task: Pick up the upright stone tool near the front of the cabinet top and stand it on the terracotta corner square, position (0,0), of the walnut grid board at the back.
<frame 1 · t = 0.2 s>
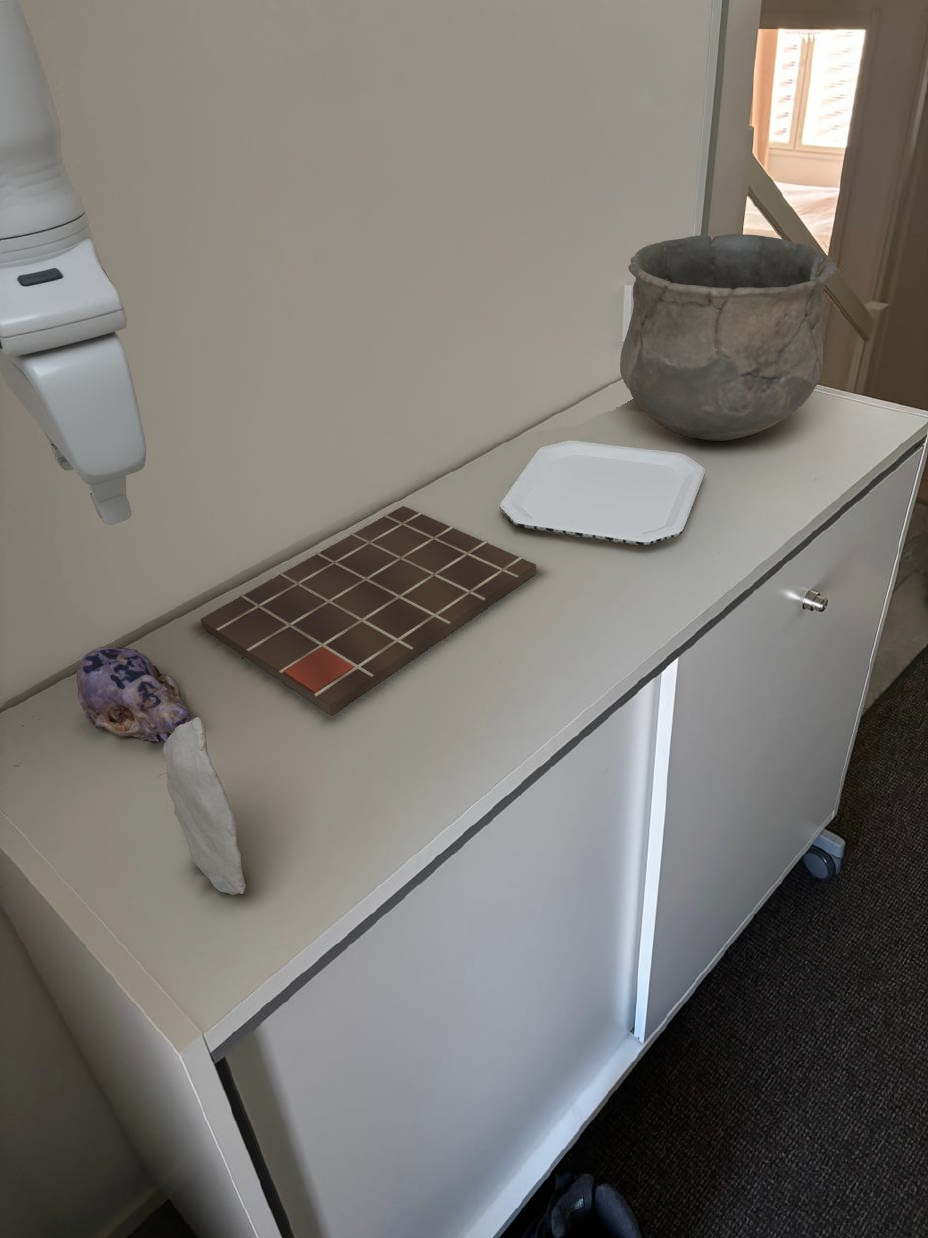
hand: (93, 490, 61), 26 cm above the cabinet top, tool pointing down, fingers open, 8 cm apart
stone tool: (226, 879, 67), on the cabinet top
pot: (710, 426, 121), on the cabinet top
skull: (144, 718, 82), on the cabinet top
plate: (603, 503, 107), on the cabinet top
board: (373, 600, 94), on the cabinet top
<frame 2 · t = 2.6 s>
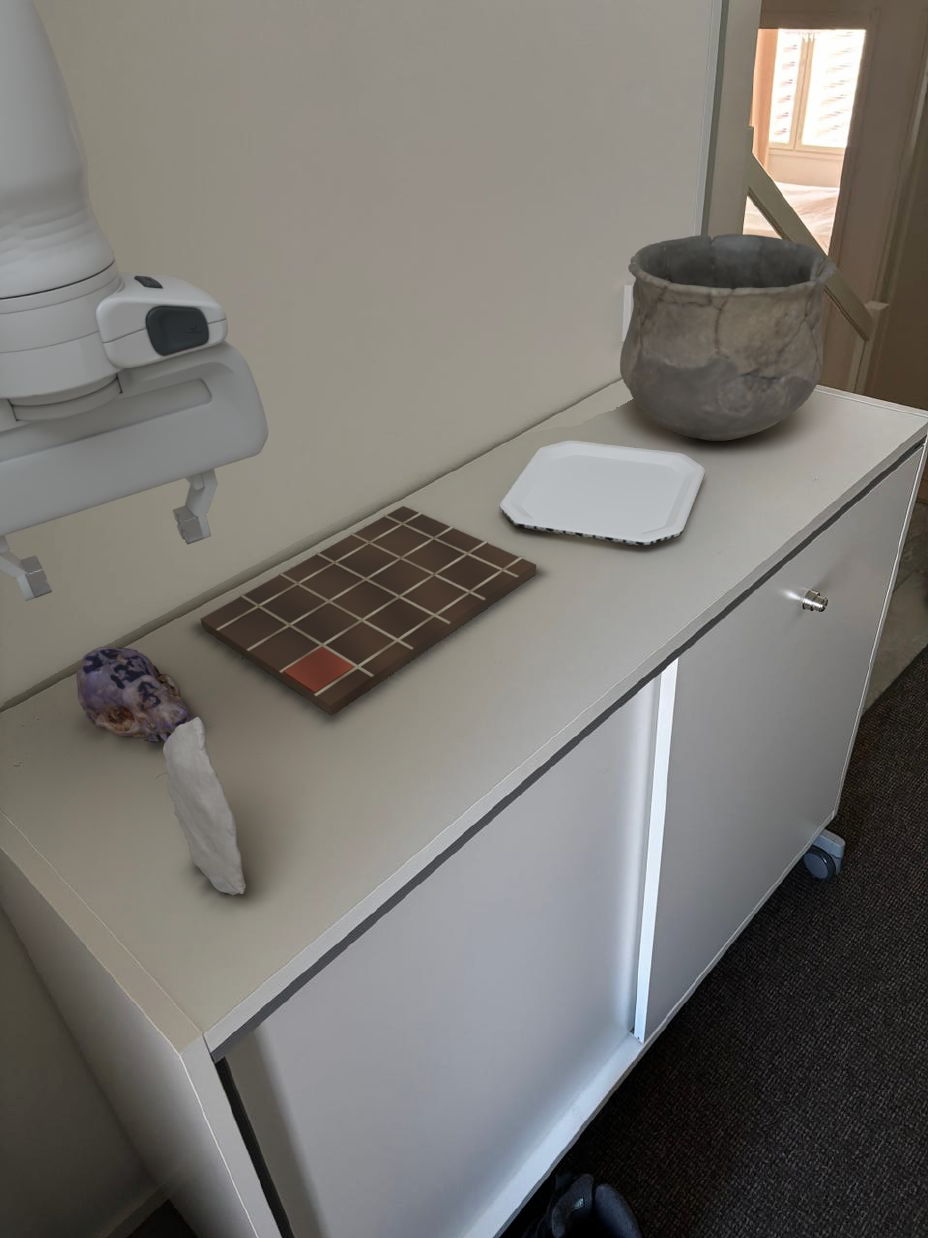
hand: (119, 563, 54), 26 cm above the cabinet top, tool pointing down, fingers open, 8 cm apart
nothing on the cabinet top moved.
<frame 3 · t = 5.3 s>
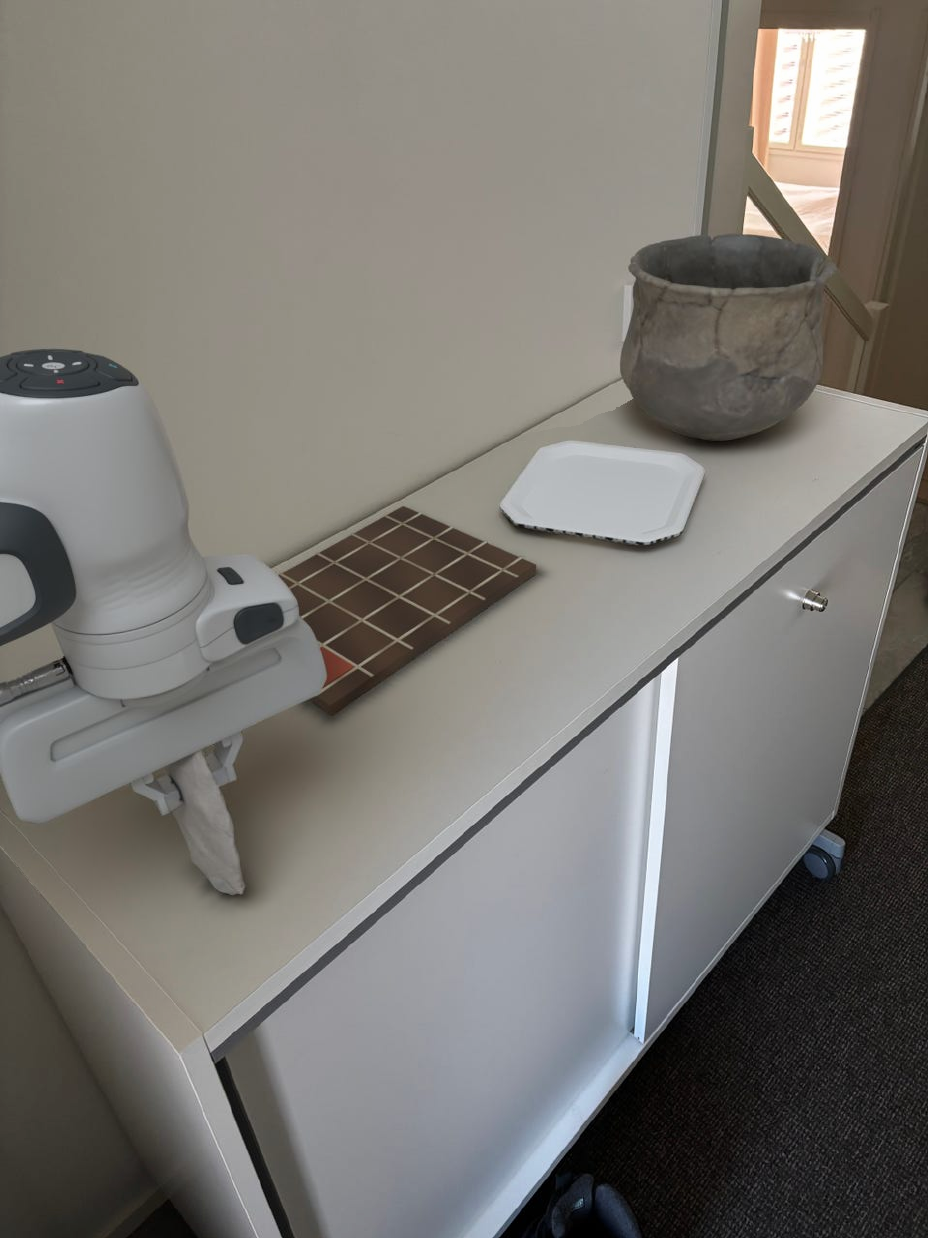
hand: (196, 792, 62), 9 cm above the cabinet top, tool pointing down, fingers closed on stone tool, 2 cm apart
stone tool: (226, 879, 67), on the cabinet top, touching gripper
everything else where it was.
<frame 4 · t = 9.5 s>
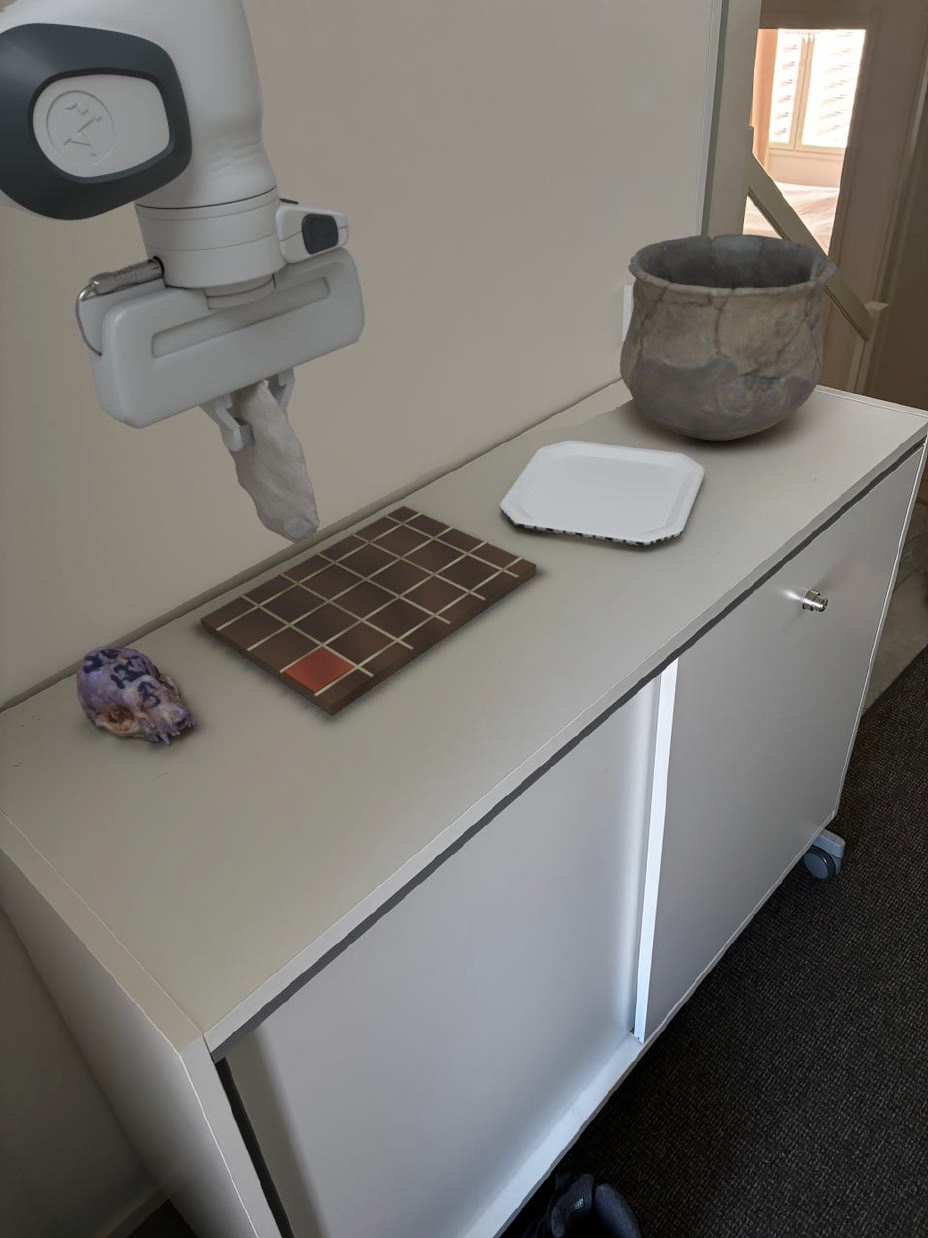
hand: (257, 438, 67), 25 cm above the cabinet top, tool pointing down, fingers closed on stone tool
stone tool: (297, 536, 74), point 16 cm above the cabinet top, touching gripper
everything else where it was.
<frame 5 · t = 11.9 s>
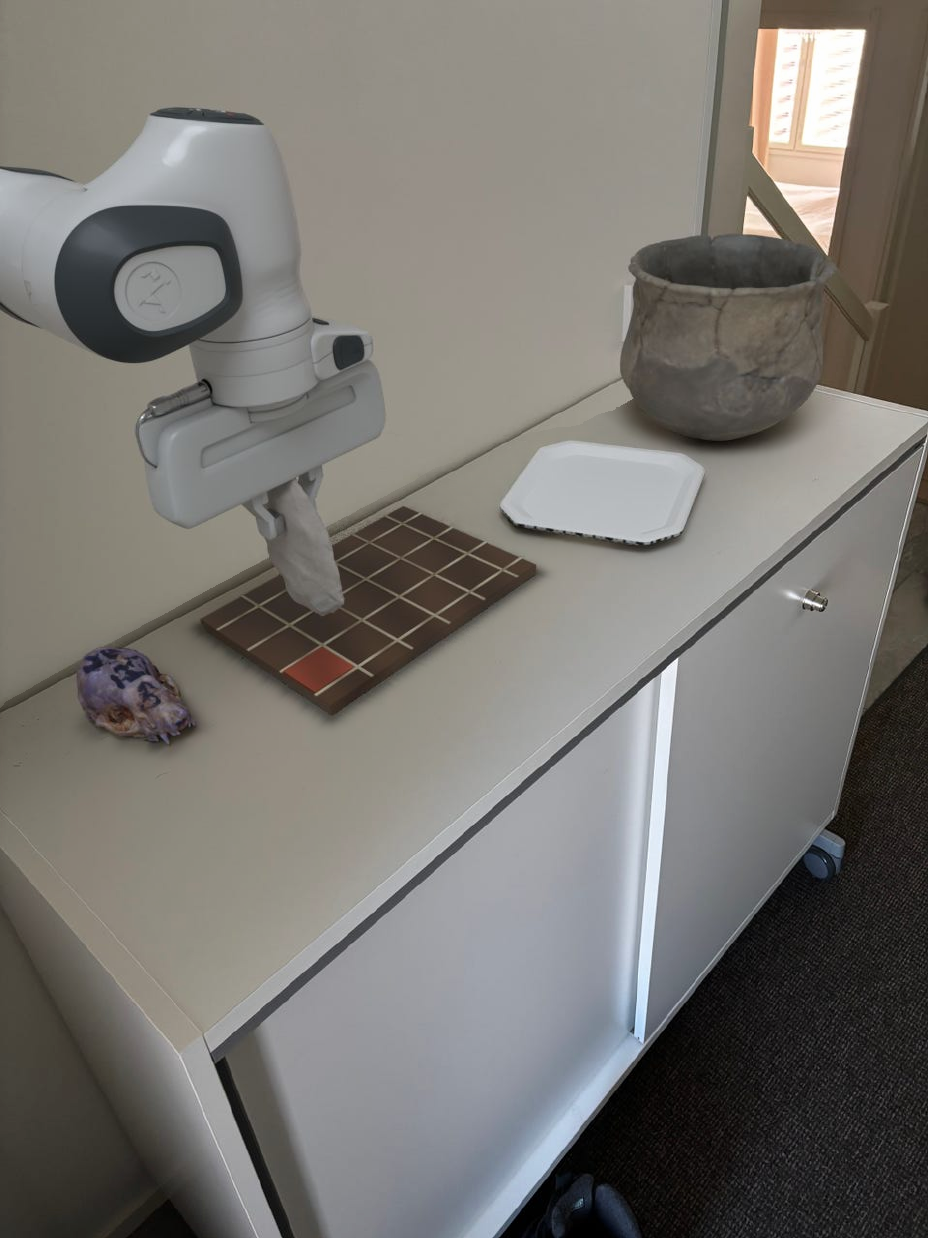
hand: (289, 526, 74), 16 cm above the cabinet top, tool pointing down, fingers closed on stone tool
stone tool: (322, 608, 81), point 7 cm above the cabinet top, touching gripper
everything else where it was.
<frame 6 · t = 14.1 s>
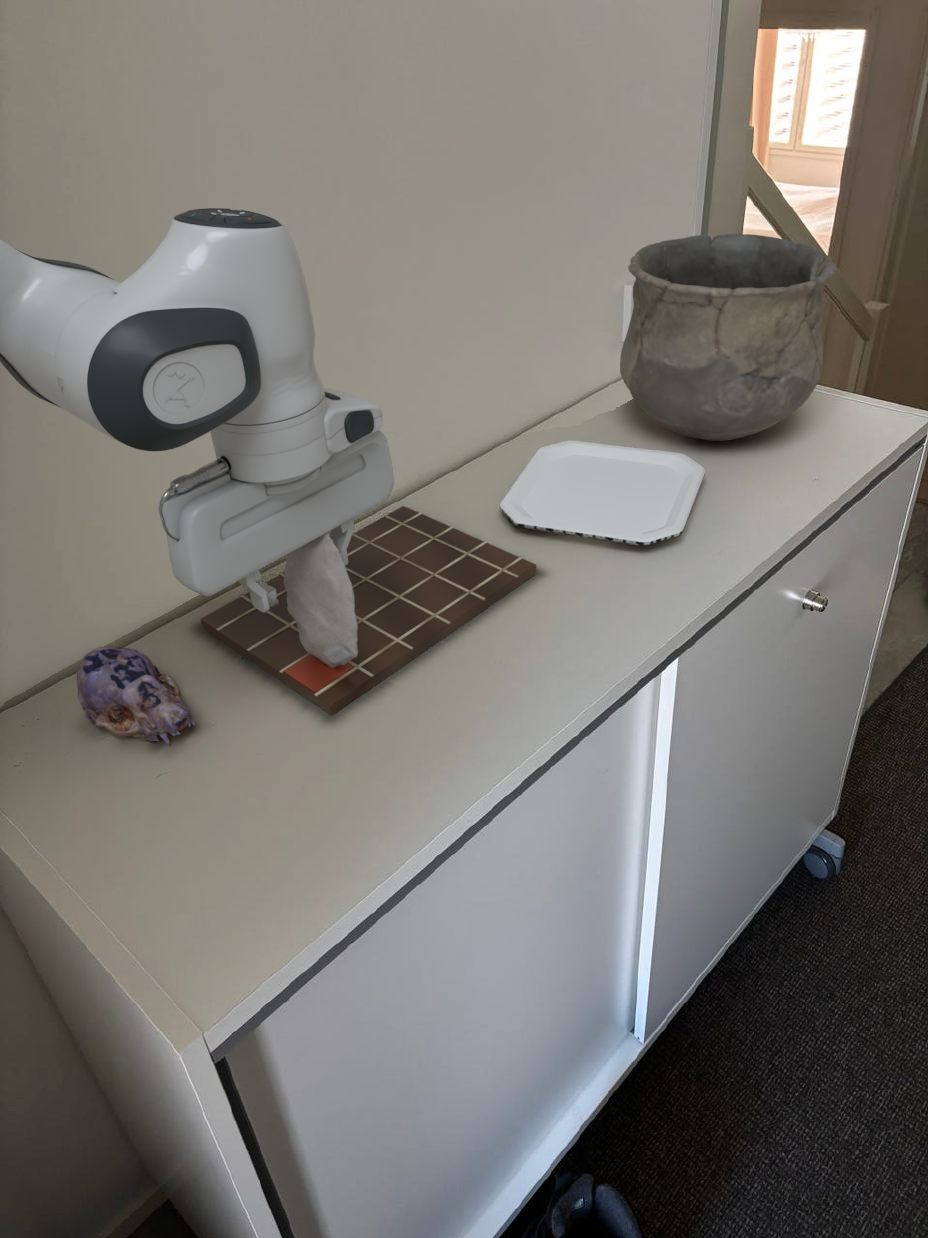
hand: (302, 585, 78), 11 cm above the cabinet top, tool pointing down, fingers open, 6 cm apart
stone tool: (332, 661, 85), point 1 cm above the cabinet top, touching board
everything else where it was.
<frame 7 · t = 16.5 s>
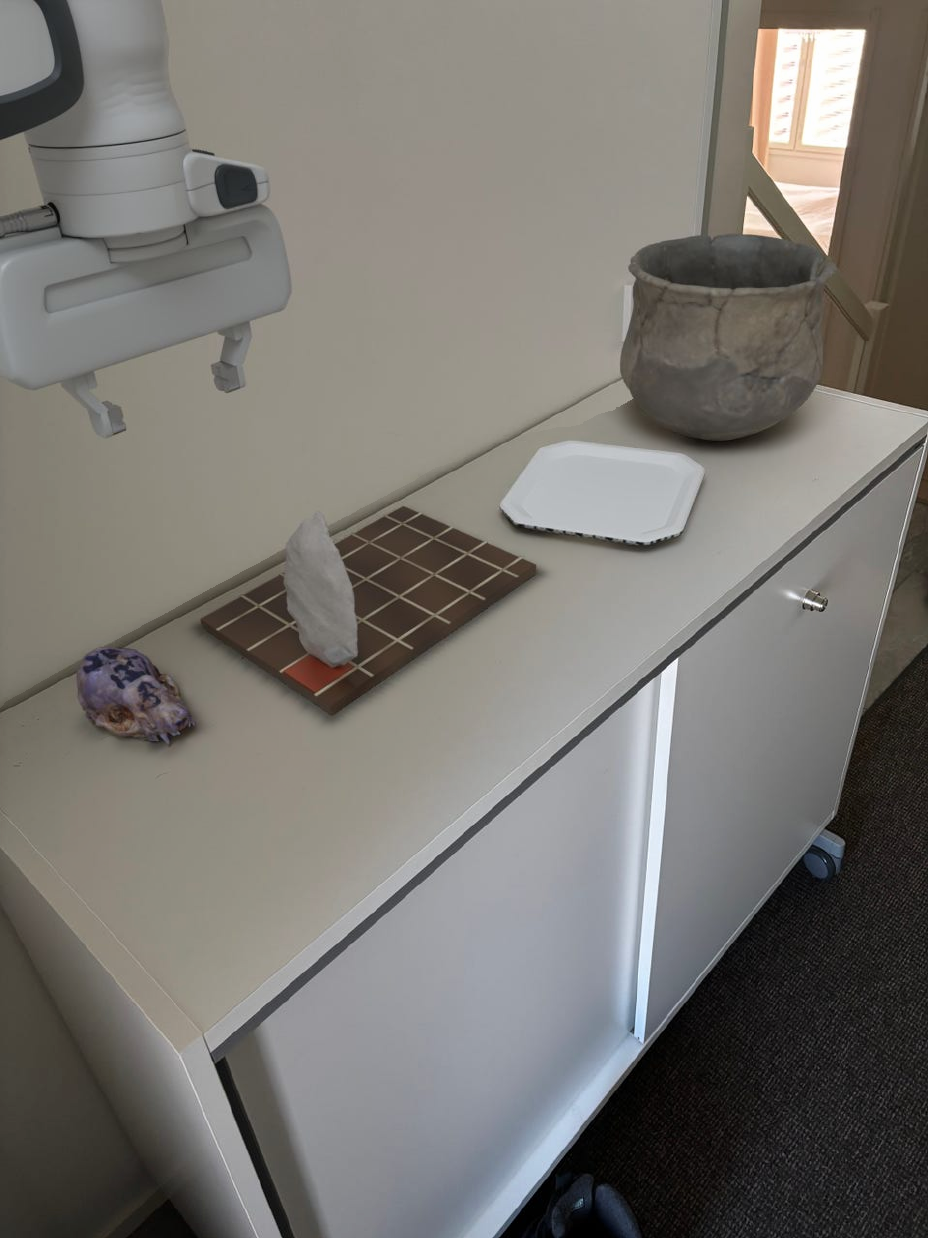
hand: (173, 409, 63), 29 cm above the cabinet top, tool pointing down, fingers open, 8 cm apart
nothing on the cabinet top moved.
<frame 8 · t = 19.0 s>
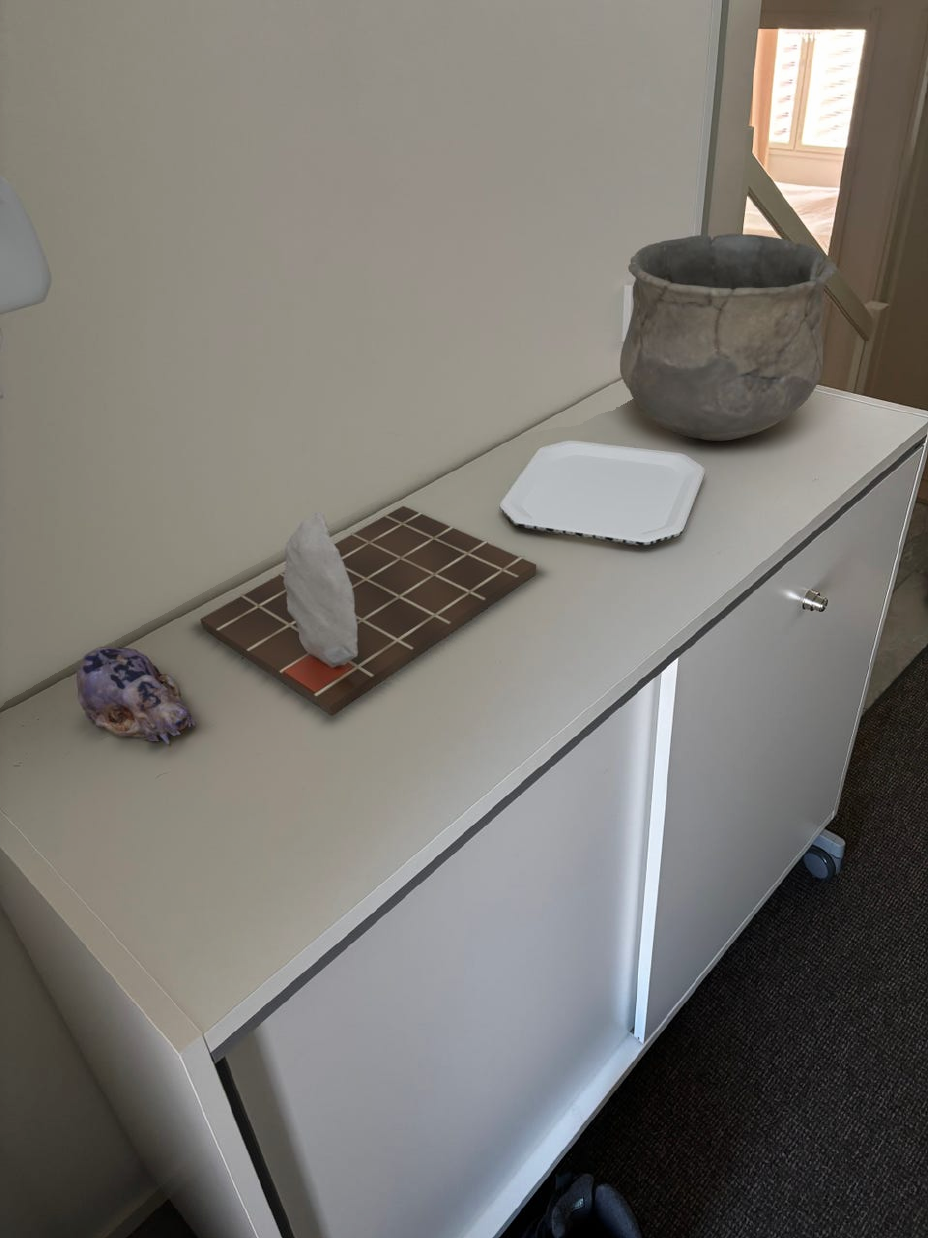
nothing on the cabinet top moved.
at the end: stone tool 1.6 cm from the target spot on the board, point 1.2 cm above the board's base; stone tool tilted 0°; the gripper is holding nothing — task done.
